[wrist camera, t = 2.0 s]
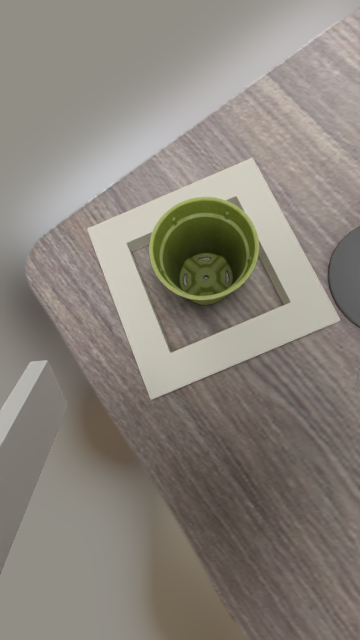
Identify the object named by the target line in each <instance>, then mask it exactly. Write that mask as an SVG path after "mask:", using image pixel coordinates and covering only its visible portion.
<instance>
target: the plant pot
mask: <svg viewBox="0 0 360 640" xmlns="http://www.w3.org/2000/svg"><path fill="white" fill-rule="evenodd" d="M149 255H150V261H151V264H152V267H153V270H154V272H155V274H156V275H157V277H158V278H159V280H160V281H161V282H162V283H163V285H164V286H166V287H167V288H168V289H169V290H170V291H172V292H173V293H175V294H177V295H179V296H181V297H184V298H187V299H189V300H191V301H192V302H194V303H197V304H202V305H210V304H214V303H217V302H219V301H221V300H222V299H224V298H225V297H226V296H227V295H228V294H230V293H232V292H233V291H235V290H236V289H238V288H239V287H240V286H241V285H242V284H243V283H244V282H245V281H246V280H247V279H248V278H249V276H250V275H251V273H252V272H253V270H254V268H255V266H256V263H257V260H258V255H259V239H258V234H257V231H256V228H255V226H254V224H253V223H252V221H251V220H250V218H249V217H248V215H247V214H246V213H245V212H244V211H243V210H242V209H240V208H239V207H238V206H236V205H235V204H233V203H231V202H228V201H226V200H223V199H219V198H215V197H197V198H192V199H188V200H186V201H183V202H180V203H178V204H176V205H174V206H173V207H172V208H171V209H169V210H168V211H167V212H166V213H164V215H163V216H162V217H161V218H160V219H159V221H158V222H157V224H156V225H155V227H154V229H153V232H152V234H151V238H150V243H149ZM204 257H210V258H211V259H210V260H201V261H199V258H204ZM225 271H227V272H228V274H229V282H226V272H225ZM185 274H186V275H187V286H185V285H184V282H183V281H184V279H183V278H184V275H185ZM206 275H207V276H208V277H209V278H208V279H207V280H206V279H204V276H206Z"/></svg>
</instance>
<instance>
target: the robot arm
mask: <svg viewBox="0 0 360 640" xmlns="http://www.w3.org/2000/svg"><path fill="white" fill-rule="evenodd" d="M356 386H357V387H358V389H359V390H360V369H359V373H358V377H357V381H356ZM67 406H68V404H67V402H66V399H65V397H64V395H63V393H62V391H61V388H60V386H59V384H58V382H57V380H56V377H55V375H54V373H53V370H52V368H51V366H50V364H49V362H48V360H46V361H34V362H30V364H29V365H28V367H27V368H26V370H25V372H24V373H23V375H22V376H21V378H20V380H19V381H18V383H17V384H16V386H15V388H14V389H13V391H12V392H11V394H10V396H9V397H8V399H7V400H6V402H5V404H4V405H3V407H2V409H1V410H0V573H1V571H2V568H3V566H4V563H5V561H6V558H7V556H8V553H9V551H10V548H11V546H12V543H13V541H14V538H15V536H16V533H17V531H18V528H19V526H20V523H21V521H22V518H23V516H24V513H25V511H26V508H27V506H28V503H29V501H30V498H31V496H32V493H33V491H34V488H35V486H36V483H37V481H38V478H39V476H40V473H41V471H42V468H43V466H44V463H45V461H46V459H47V456H48V453H49V451H50V449H51V446H52V444H53V441H54V438H55V436H56V433H57V431H58V428H59V426H60V424H61V421H62V419H63V416H64V413H65V411H66V408H67Z"/></svg>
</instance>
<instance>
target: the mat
mask: <svg viewBox="0 0 360 640" xmlns="http://www.w3.org/2000/svg"><path fill="white" fill-rule="evenodd" d="M328 281H329V287H330V290H331V294H332V296H333V298H334V301H335V303H336V304H337V306H338V307H339V309H340V310H341V311H342V313H343V314H344V315H345V316H346V317H347V318H348V319H349V320H350V321H351V322H352V323H354V324H355V325H356V326H358V327H359V328H360V226H359V227H357V228H356V229H354V230H353V231H351V232H350V233H349V234H348V235H347V236H346V237H345V238H344V239H343V240H342V241H341V242H340V243H339V244H338V246H337V247H336V249H335V251H334V253H333V255H332V257H331V260H330V264H329V270H328Z"/></svg>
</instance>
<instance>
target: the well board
mask: <svg viewBox="0 0 360 640" xmlns="http://www.w3.org/2000/svg"><path fill="white" fill-rule="evenodd" d="M197 197H215V198H219V199H223V200H226V201H228V202H231V203H233V204H235V205H236V206H238V207H239V208H240V209H242V210H243V211H244V212H245V213H246V214H247V215H248V217H249V218H250V220H251V221H252V223H253V224H254V226H255V228H256V231H257V234H258V239H259V257H260V259H261V261H262V263H263V265H264V267H265V269H266V271H267V273H268V275H269V277H270V279H271V281H272V283H273V285H274V287H275V289H276V291H277V293H278V295H279V297H280V299H281V301H282V303H283V306H281V307H278V308H276V309H274V310H271V311H269V312H266V313H264V314H262V315H259V316H257V317H255V318H252V319H250V320H247V321H245V322H243V323H240V324H238V325H236V326H233V327H231V328H228V329H226V330H224V331H221V332H219V333H217V334H214V335H212V336H209V337H207V338H205V339H202V340H200V341H198V342H195V343H193V344H190V345H188V346H186V347H183V348H181V349H179V350H176V351H174V352H172V350H171V348H170V345H169V343H168V340H167V338H166V335H165V333H164V330H163V328H162V325H161V323H160V320H159V318H158V315H157V313H156V310H155V308H154V306H153V303H152V301H151V298H150V296H149V293H148V291H147V288H146V286H145V283H144V281H143V278H142V276H141V273H140V271H139V268H138V266H137V263H136V261H135V258H134V256H133V253H132V252H134V251H136V250H139V249H141V248H143V247H146V246H148V245H149V243H150V238H151V234H152V232H153V229H154V227H155V225H156V224H157V222H158V221H159V219H160V218H161V217H162V216H163V215H164V213H166V212H167V211H168V210H169V209H171V208H172V207H173V206H174V205H176V204H178V203H180V202H183V201H186V200H188V199H192V198H197ZM87 230H88V233H89V235H90V238H91V241H92V244H93V246H94V249H95V252H96V254H97V257H98V260H99V262H100V265H101V268H102V270H103V273H104V276H105V278H106V281H107V284H108V286H109V289H110V292H111V295H112V297H113V300H114V303H115V305H116V308H117V311H118V313H119V316H120V319H121V321H122V324H123V327H124V329H125V332H126V335H127V338H128V340H129V343H130V346H131V348H132V351H133V354H134V356H135V359H136V362H137V364H138V367H139V370H140V372H141V375H142V378H143V381H144V383H145V386H146V389H147V391H148V394H149V397H150V399H151V400H152V399H155V398H158V397H160V396H163V395H165V394H167V393H170V392H172V391H175V390H177V389H179V388H182V387H184V386H186V385H189V384H191V383H194V382H196V381H198V380H201V379H203V378H206V377H208V376H210V375H213V374H215V373H218V372H220V371H222V370H225V369H227V368H229V367H232V366H234V365H237V364H239V363H241V362H244V361H246V360H249V359H251V358H253V357H256V356H258V355H261V354H263V353H265V352H268V351H270V350H272V349H275V348H277V347H280V346H282V345H284V344H287V343H289V342H292V341H294V340H296V339H299V338H301V337H304V336H306V335H308V334H311V333H313V332H315V331H318V330H320V329H323V328H325V327H327V326H330V325H332V324H334V323H336V322H338V321H340V318H339V316H338V314H337V312H336V310H335V309H334V307H333V305H332V303H331V301H330V299H329V298H328V296H327V294H326V292H325V290H324V288H323V286H322V285H321V283H320V281H319V279H318V277H317V275H316V274H315V272H314V270H313V268H312V266H311V264H310V263H309V261H308V259H307V257H306V255H305V253H304V251H303V250H302V248H301V246H300V244H299V242H298V240H297V239H296V237H295V235H294V233H293V231H292V229H291V228H290V226H289V224H288V222H287V220H286V218H285V216H284V215H283V213H282V211H281V209H280V207H279V205H278V204H277V202H276V200H275V198H274V196H273V194H272V193H271V191H270V189H269V187H268V185H267V183H266V181H265V180H264V178H263V176H262V174H261V172H260V170H259V169H258V167H257V165H256V163H255V161H254V159H253V158H250V159H248V160H246V161H243V162H241V163H239V164H236V165H234V166H232V167H229V168H227V169H225V170H222V171H220V172H218V173H215V174H213V175H211V176H209V177H206V178H204V179H202V180H199V181H197V182H195V183H192V184H190V185H188V186H185V187H183V188H181V189H178V190H176V191H174V192H171V193H169V194H167V195H164V196H162V197H160V198H157V199H155V200H153V201H150V202H148V203H146V204H143V205H141V206H139V207H137V208H134V209H132V210H130V211H127V212H125V213H123V214H120V215H118V216H116V217H113V218H111V219H109V220H106V221H104V222H102V223H99V224H97V225H95V226H92V227H90V228H88V229H87Z"/></svg>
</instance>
